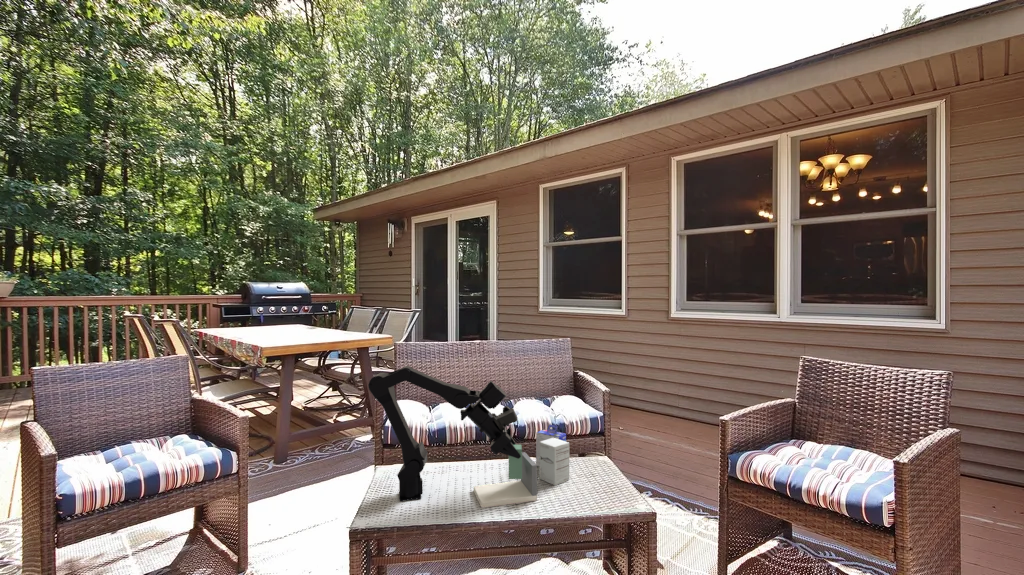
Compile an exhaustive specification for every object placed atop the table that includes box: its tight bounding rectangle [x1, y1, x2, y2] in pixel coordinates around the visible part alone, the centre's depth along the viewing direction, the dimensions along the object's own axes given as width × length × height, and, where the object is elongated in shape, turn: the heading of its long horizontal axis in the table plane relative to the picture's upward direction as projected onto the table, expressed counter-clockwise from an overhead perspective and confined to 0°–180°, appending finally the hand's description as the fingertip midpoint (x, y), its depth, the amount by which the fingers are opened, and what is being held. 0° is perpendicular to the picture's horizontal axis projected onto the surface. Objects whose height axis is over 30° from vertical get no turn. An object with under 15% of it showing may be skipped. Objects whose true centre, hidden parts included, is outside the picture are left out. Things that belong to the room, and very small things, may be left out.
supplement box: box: [539, 438, 570, 486], centre depth 156 cm, size 7×7×13 cm
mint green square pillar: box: [508, 444, 523, 480], centre depth 145 cm, size 4×4×9 cm
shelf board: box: [473, 451, 538, 509], centre depth 144 cm, size 17×12×10 cm
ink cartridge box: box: [535, 424, 567, 467], centre depth 167 cm, size 10×6×14 cm, turn 53°
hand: (519, 454), depth 145 cm, fingers closed on mint green square pillar, 4 cm apart
